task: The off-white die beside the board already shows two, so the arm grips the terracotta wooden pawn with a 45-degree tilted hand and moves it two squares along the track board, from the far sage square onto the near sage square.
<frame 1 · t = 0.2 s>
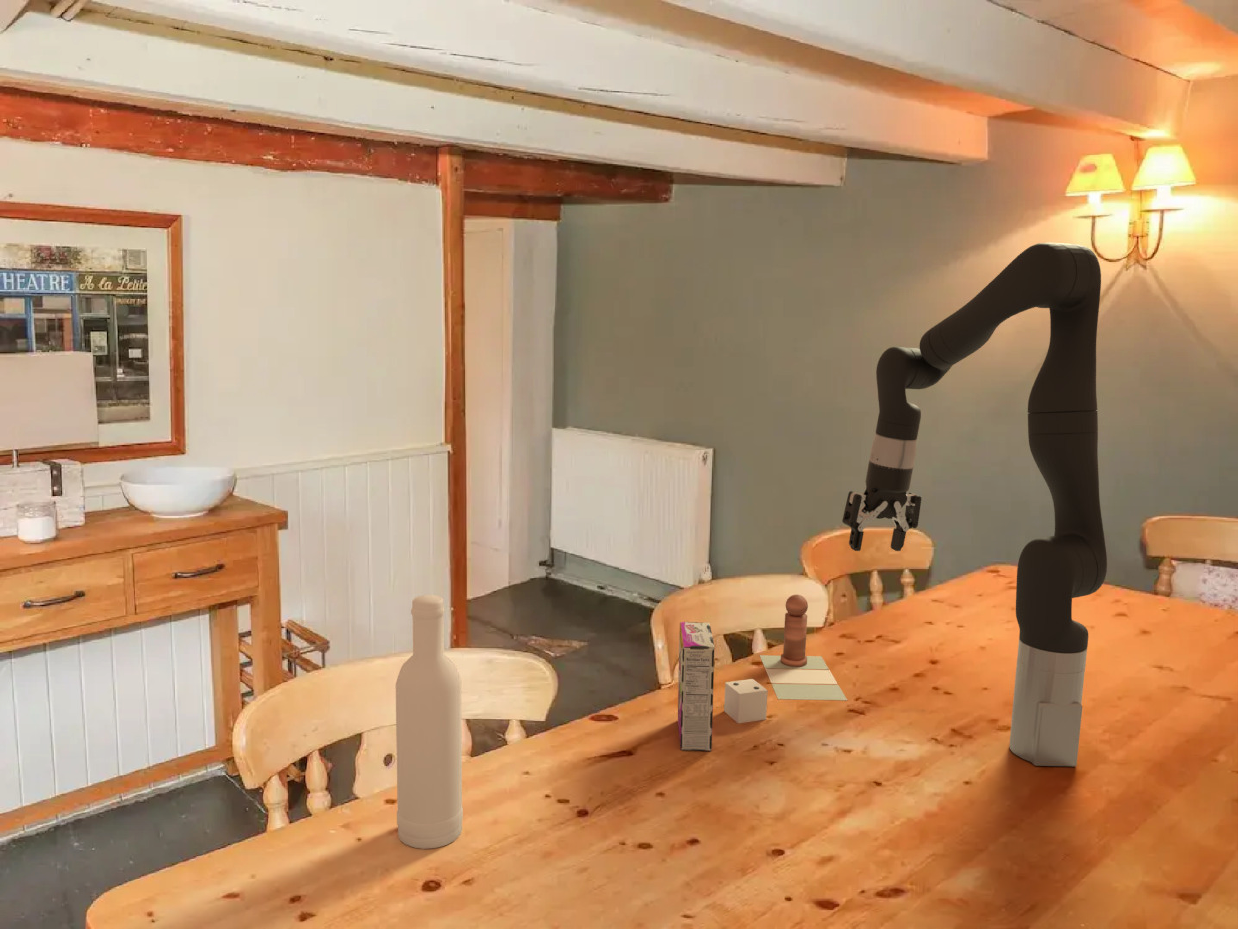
hand: (875, 549, 174), 23 cm above the table, tool pointing down, fingers open, 8 cm apart
die: (744, 715, 158), on the table
board: (800, 680, 174), on the table
candy bar box: (693, 737, 150), on the table
pawn: (793, 662, 180), point 1 cm above the table, touching board
bottle: (430, 834, 121), on the table
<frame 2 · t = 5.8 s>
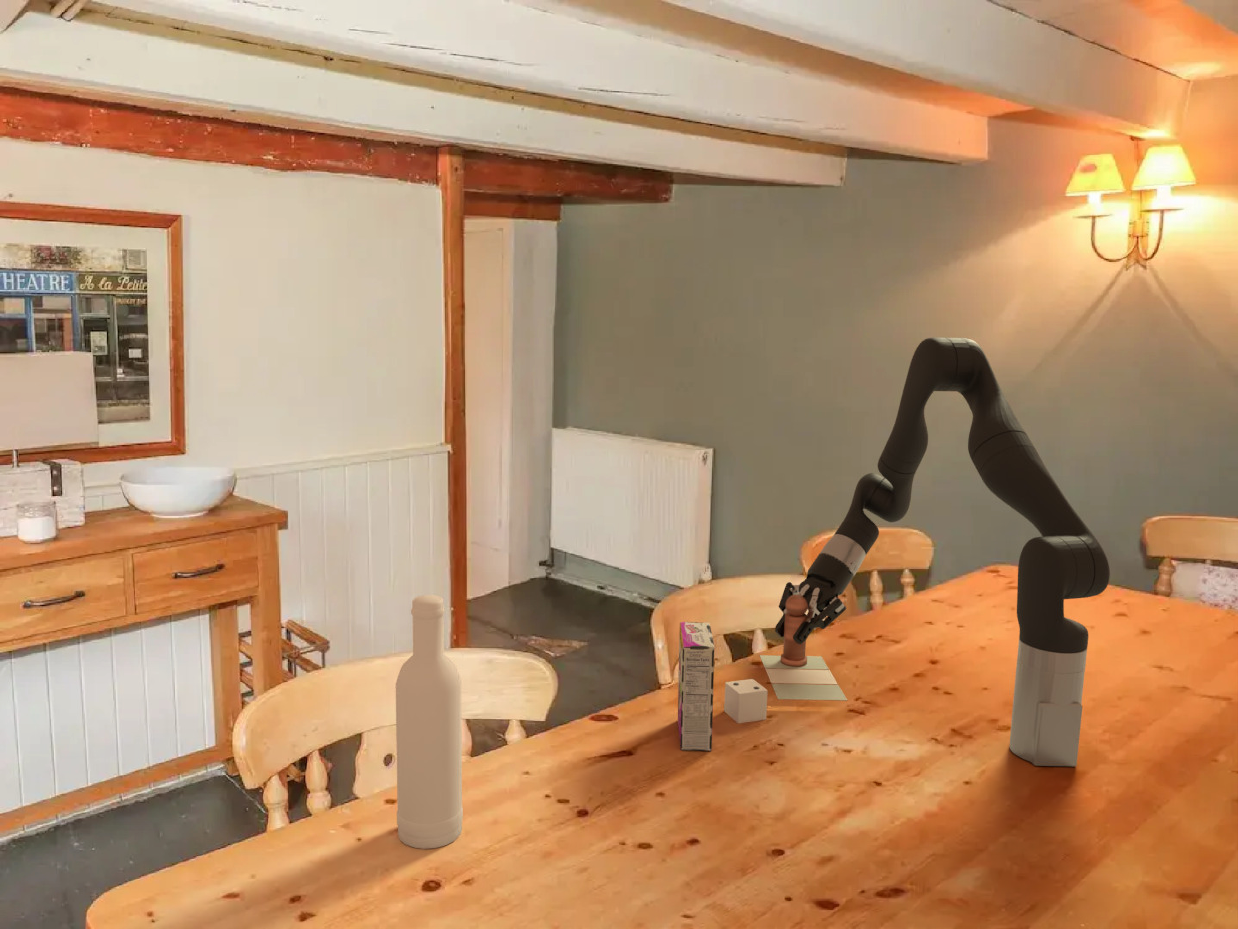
hand: (787, 637, 178), 6 cm above the table, tool tilted 45°, fingers closed on pawn, 4 cm apart
pawn: (793, 662, 180), point 1 cm above the table, touching board, gripper
everything else where it was.
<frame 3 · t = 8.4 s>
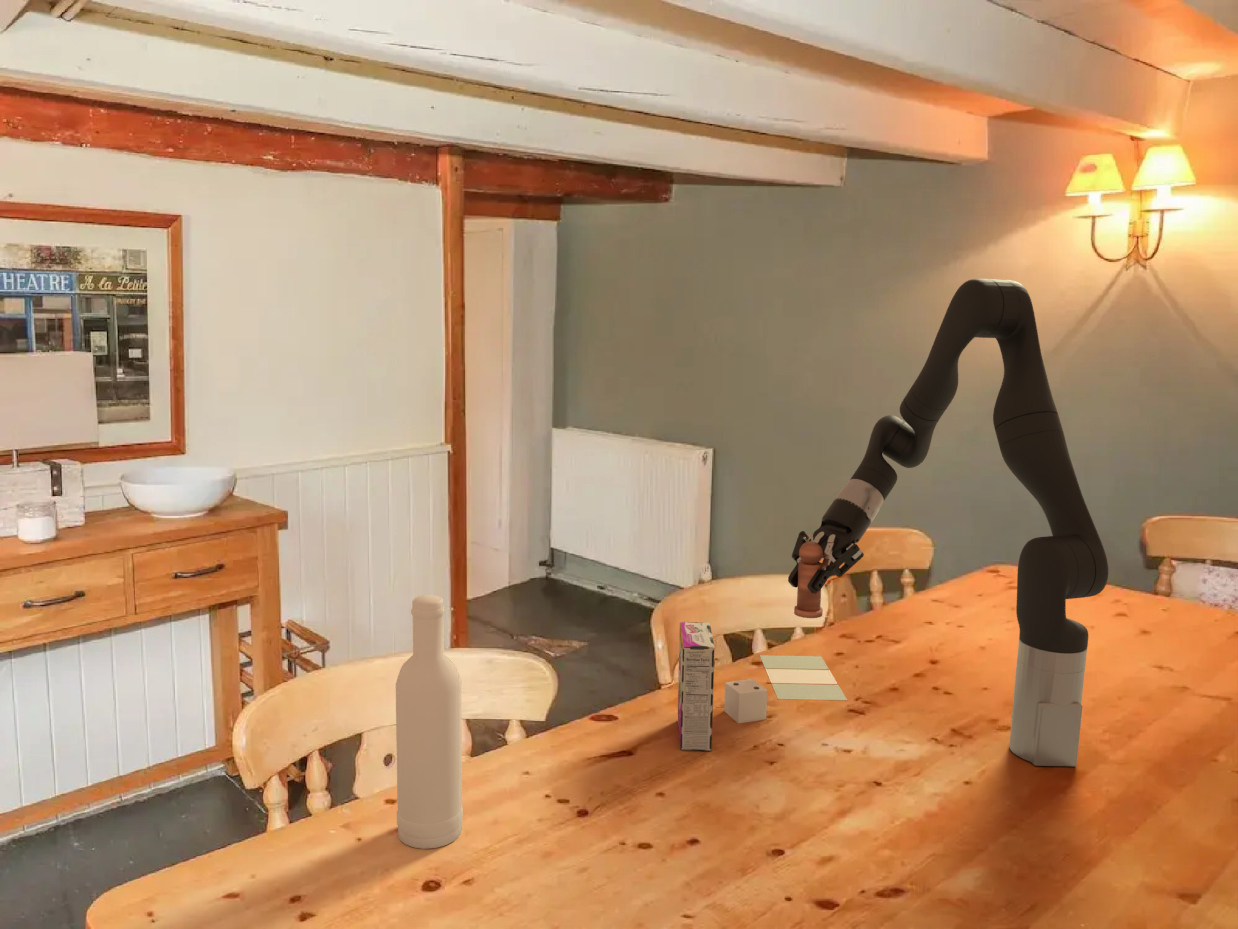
hand: (801, 587, 168), 18 cm above the table, tool tilted 45°, fingers closed on pawn, 4 cm apart
pawn: (808, 614, 169), point 13 cm above the table, touching gripper
everything else where it was.
when the fingers open (7 cm above the table, at t = 11.4 s): pawn drops 1 cm, resting on board.
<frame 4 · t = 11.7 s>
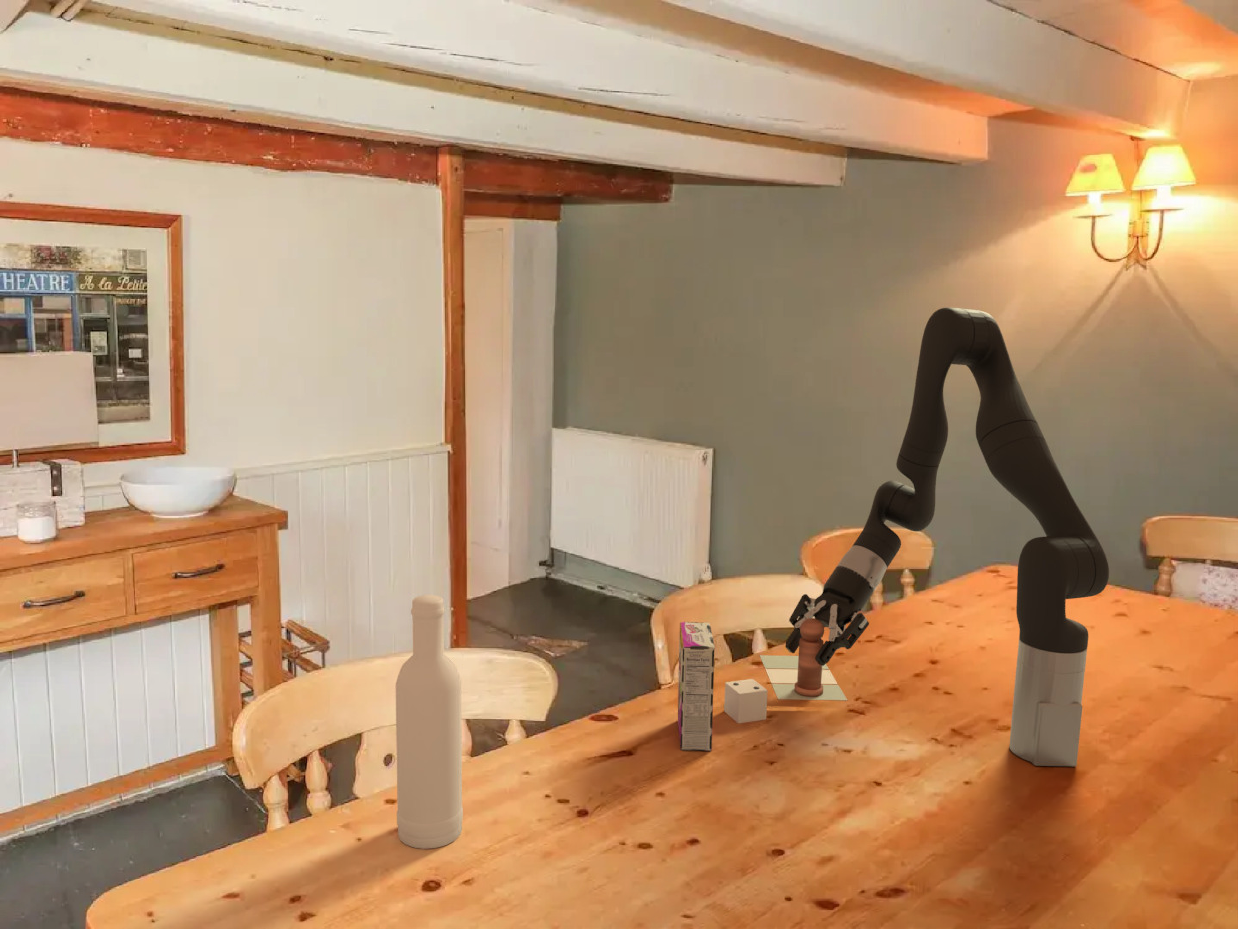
hand: (803, 656, 165), 7 cm above the table, tool tilted 45°, fingers open, 6 cm apart
pawn: (808, 691, 167), point 1 cm above the table, touching board
everything else where it was.
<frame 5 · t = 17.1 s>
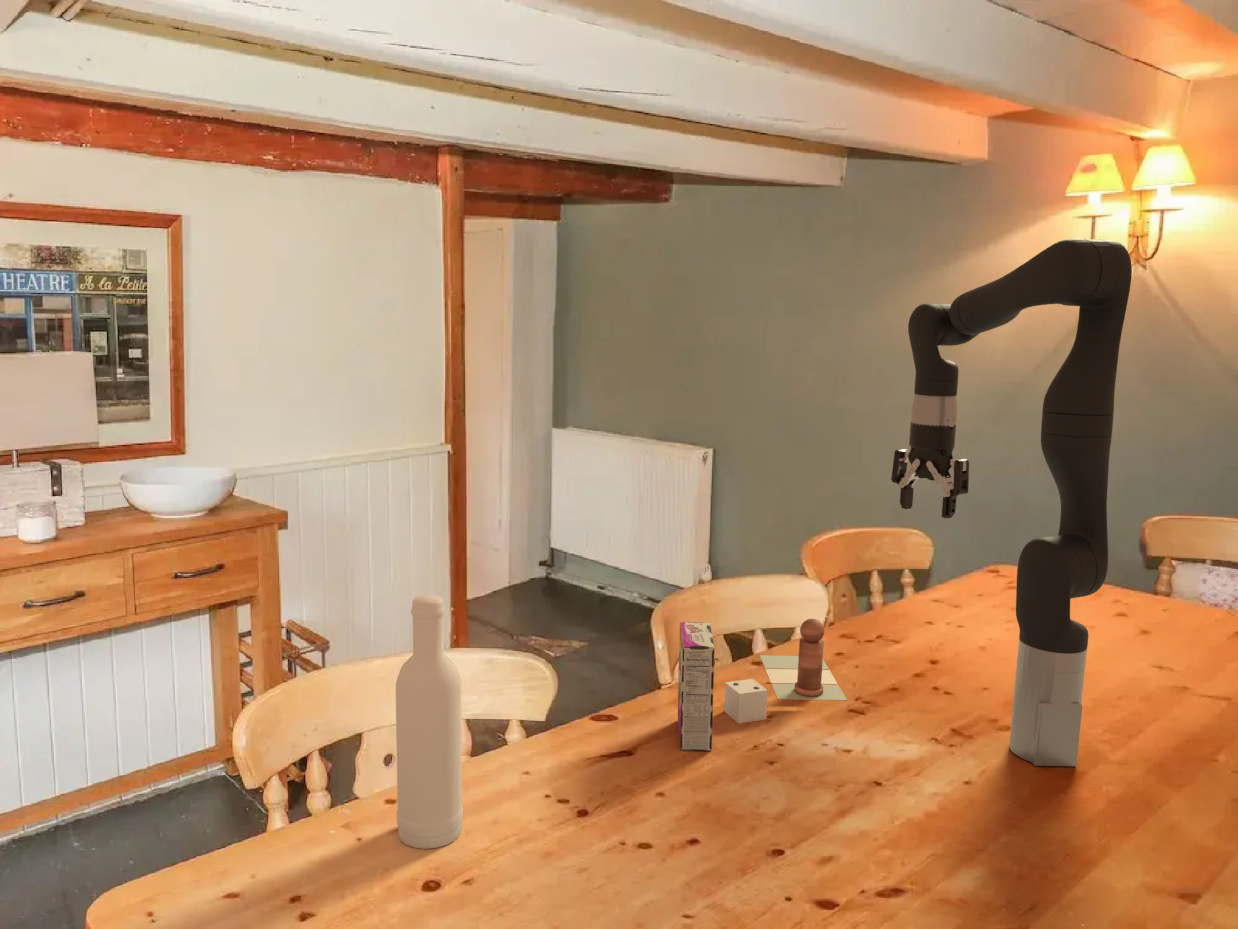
hand: (926, 513, 171), 30 cm above the table, tool pointing down, fingers open, 8 cm apart
nothing on the table moved.
at the end: pawn 0.1 cm from the target spot on the board, point 0.7 cm above the board's base; pawn tilted 0°; the gripper is holding nothing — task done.
